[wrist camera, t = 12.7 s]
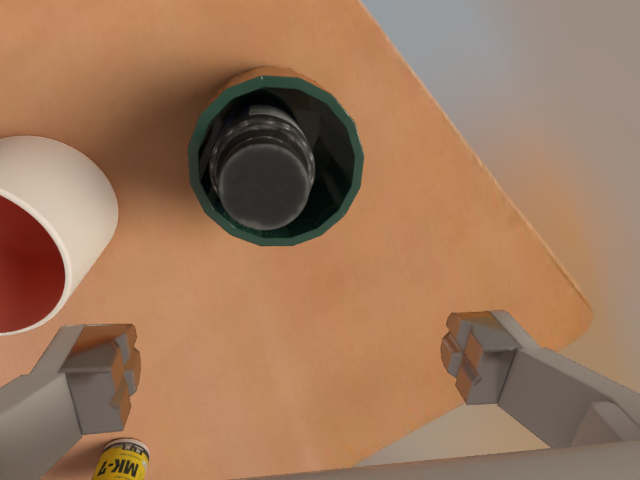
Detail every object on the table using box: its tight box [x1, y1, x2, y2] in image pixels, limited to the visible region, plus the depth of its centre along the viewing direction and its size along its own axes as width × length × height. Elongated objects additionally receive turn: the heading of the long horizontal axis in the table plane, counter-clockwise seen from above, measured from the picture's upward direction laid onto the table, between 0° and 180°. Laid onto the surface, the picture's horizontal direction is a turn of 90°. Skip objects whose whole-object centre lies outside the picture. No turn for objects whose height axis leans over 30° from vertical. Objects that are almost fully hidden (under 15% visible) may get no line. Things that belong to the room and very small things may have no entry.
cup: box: [0, 136, 118, 336], centre depth 26 cm, size 10×10×10 cm
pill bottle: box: [209, 99, 315, 230], centre depth 25 cm, size 6×6×11 cm
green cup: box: [187, 66, 364, 246], centre depth 27 cm, size 10×10×8 cm
